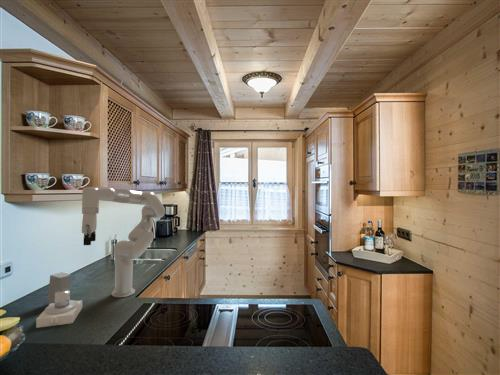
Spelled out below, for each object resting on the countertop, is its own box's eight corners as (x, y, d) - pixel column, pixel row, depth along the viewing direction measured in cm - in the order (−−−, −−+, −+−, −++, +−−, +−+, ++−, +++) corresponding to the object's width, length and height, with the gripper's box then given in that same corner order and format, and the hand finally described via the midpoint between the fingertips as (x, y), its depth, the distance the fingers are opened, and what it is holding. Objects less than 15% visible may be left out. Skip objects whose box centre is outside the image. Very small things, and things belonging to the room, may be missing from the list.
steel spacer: (57, 303, 129) (57, 290, 129) (71, 302, 131) (71, 288, 131) (52, 309, 123) (52, 294, 123) (67, 307, 125) (67, 293, 125)
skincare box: (47, 304, 138) (47, 275, 138) (60, 299, 145) (61, 271, 145) (57, 307, 135) (58, 277, 135) (71, 302, 142) (71, 273, 142)
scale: (50, 311, 131) (50, 301, 131) (82, 307, 136) (82, 298, 136) (35, 328, 116) (35, 317, 116) (71, 323, 120) (72, 313, 120)
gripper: (86, 209, 143) (85, 240, 143) (77, 212, 127) (76, 247, 127) (102, 209, 145) (101, 239, 145) (94, 212, 129) (93, 246, 129)
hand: (89, 243), depth 136 cm, fingers open, 9 cm apart
